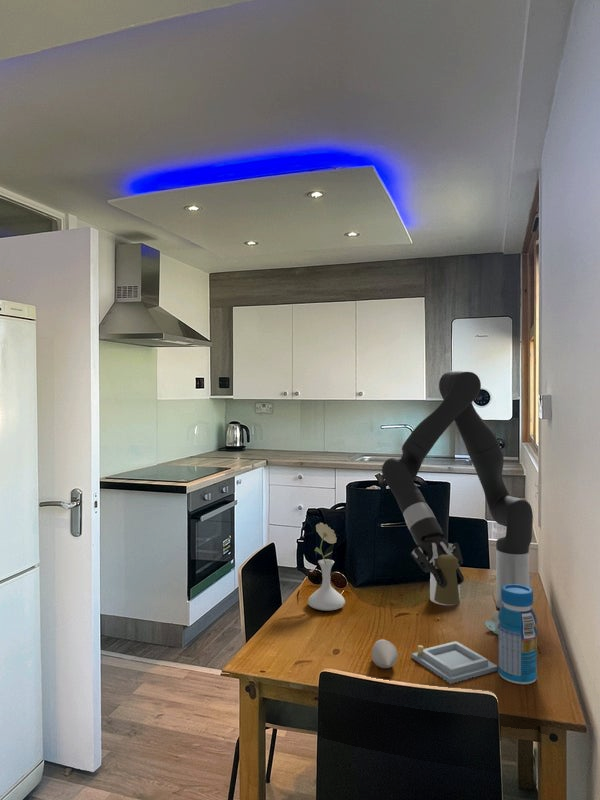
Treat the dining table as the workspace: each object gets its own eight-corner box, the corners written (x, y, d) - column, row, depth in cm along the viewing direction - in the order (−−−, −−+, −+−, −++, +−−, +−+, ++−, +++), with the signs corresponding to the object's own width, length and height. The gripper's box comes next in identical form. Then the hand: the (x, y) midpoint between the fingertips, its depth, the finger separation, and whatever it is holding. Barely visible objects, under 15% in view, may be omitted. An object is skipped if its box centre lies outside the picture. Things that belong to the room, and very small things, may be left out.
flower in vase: (351, 611, 166) (351, 527, 166) (315, 616, 162) (315, 530, 162) (333, 596, 178) (333, 518, 178) (300, 601, 174) (300, 521, 174)
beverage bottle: (497, 682, 124) (496, 592, 124) (498, 665, 132) (497, 580, 132) (538, 688, 121) (538, 597, 121) (536, 671, 129) (536, 584, 129)
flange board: (456, 646, 142) (456, 634, 142) (497, 670, 130) (497, 657, 130) (411, 657, 136) (411, 645, 136) (450, 684, 124) (450, 670, 124)
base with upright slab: (449, 593, 180) (449, 556, 180) (465, 603, 172) (465, 564, 172) (424, 596, 178) (424, 559, 178) (440, 606, 169) (440, 567, 169)
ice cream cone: (386, 686, 122) (380, 665, 137) (408, 668, 123) (399, 649, 138) (368, 663, 123) (364, 644, 138) (390, 645, 124) (383, 628, 139)
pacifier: (495, 626, 155) (482, 630, 152) (496, 603, 155) (482, 607, 152) (519, 635, 149) (506, 640, 146) (520, 611, 149) (506, 616, 146)
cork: (460, 605, 133) (461, 559, 133) (434, 603, 135) (435, 557, 135) (458, 597, 139) (459, 553, 139) (434, 595, 141) (434, 551, 141)
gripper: (405, 518, 141) (435, 580, 130) (451, 513, 147) (483, 572, 136) (393, 534, 146) (421, 596, 135) (438, 529, 152) (468, 587, 141)
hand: (452, 584), depth 135 cm, fingers closed on cork, 4 cm apart
